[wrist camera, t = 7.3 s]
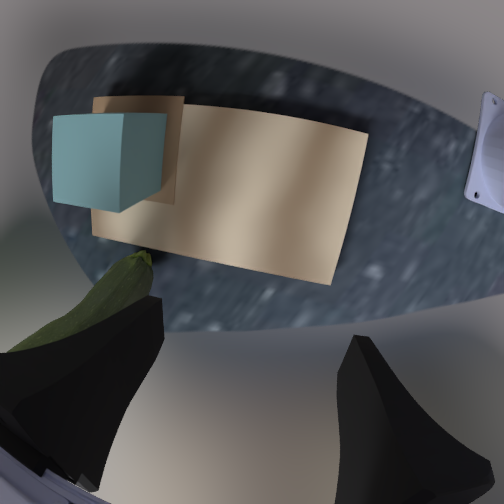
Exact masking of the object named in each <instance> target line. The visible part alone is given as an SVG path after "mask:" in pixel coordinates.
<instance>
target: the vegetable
mask: <svg viewBox="0 0 504 504" xmlns="http://www.w3.org/2000/svg"><path fill="white" fill-rule="evenodd" d="M151 266H152V261H151V255H150V253H146V250H142V251H139V252H138V253H134V254H132V255H130V256H127V257H125V258H123V259H121V260H119V261H118V262H116V263H115V264H114V265H113V266H112V267H111V268H110V269H109V270H108V272H107V273H106V274H105V275H104V276H103V277H102V278H101V279H100V280H99V281H98V282H97V283H96V284H95V286H94V287H93V288H92V289H91V290H90V291H89V293H88V294H87V295H86V297H85V298H84V299H83V300H82V301H81V302H80V303H79V304H78V305H77V306H76V307H75V308H74V309H72V310H71V311H70V312H69V313H67V314H66V315H65V316H62V317H61V318H58V319H56V320H54V321H52V322H50V323H49V324H47V325H45V326H44V327H42V328H41V329H39V330H38V331H37V332H36V333H34V334H32V335H31V336H29V337H28V338H26V339H25V340H23V341H22V342H20V343H19V344H17V345H16V346H14V347H13V348H12V349H10V350H9V351H8V352H14V351H20V350H25V349H30V348H34V347H38V346H41V345H45V344H48V343H51V342H54V341H58V340H60V339H63V338H66V337H68V336H71V335H73V334H76V333H78V332H80V331H82V330H85V329H87V328H89V327H91V326H93V325H94V324H96V323H98V322H100V321H102V320H104V319H106V318H108V317H110V316H112V315H113V314H115V313H117V312H119V311H120V310H122V309H124V308H126V307H127V306H129V305H131V304H133V303H134V302H136V301H138V300H140V299H141V298H143V297H145V296H147V295H149V292H150V290H151V286H152V282H153V270H152V268H151ZM8 352H7V353H8Z"/></svg>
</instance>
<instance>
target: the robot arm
mask: <svg viewBox="0 0 504 504" xmlns="http://www.w3.org/2000/svg"><path fill="white" fill-rule="evenodd" d="M492 99H494V102H495V103H494V104H493V102H492ZM475 192H477V196H476V197H474V194H475ZM464 195H465V197H466V198H467V199H469V200H471V201H474V202H477V203H479V204H482V205H484V206H487V207H489V208H491V209H494V210H496V211H499V212H501V213H503V214H504V100H502V99H501V98H499V97H498V96H496V95H494V94H492V93H491V92H484V93H483V95H482V103H481V110H480V117H479V124H478V130H477V136H476V141H475V147H474V152H473V156H472V161H471V166H470V170H469V174H468V178H467V182H466V186H465V190H464ZM163 341H164V325H163V309H162V299H161V298H157V297H153V296H149V295H147V296H145V297H143V298H141V299H140V300H138V301H136V302H134V303H133V304H131V305H129V306H127V307H126V308H124V309H122V310H120V311H119V312H117V313H115V314H113V315H112V316H110V317H108V318H106V319H104V320H102V321H100V322H98V323H96V324H94V325H93V326H91V327H89V328H87V329H85V330H82V331H80V332H78V333H76V334H73V335H71V336H68V337H66V338H63V339H60V340H58V341H54V342H51V343H48V344H45V345H41V346H38V347H34V348H30V349H25V350H20V351H14V352H8V353H0V504H111V503H108V502H106V501H104V500H102V499H100V498H98V497H96V496H94V495H92V494H90V493H88V492H96V491H98V490H99V486H100V482H101V478H102V475H103V471H104V467H105V464H106V461H107V457H108V455H109V452H110V449H111V446H112V443H113V441H114V438H115V435H116V433H117V430H118V428H119V425H120V423H121V421H122V418H123V416H124V414H125V411H126V409H127V407H128V405H129V404H130V402H131V400H132V398H133V397H134V395H135V393H136V392H137V390H138V388H139V387H140V385H141V383H142V382H143V380H144V378H145V377H146V375H147V373H148V372H149V370H150V368H151V367H152V365H153V363H154V362H155V360H156V358H157V355H158V353H159V351H160V348H161V346H162V344H163ZM337 408H338V421H339V435H340V464H339V476H338V484H337V492H336V498H335V504H469V503H471V502H473V501H474V500H475V499H477V498H479V497H480V496H482V495H483V494H485V493H486V492H487V491H489V490H490V489H491V488H492V486H493V485H494V483H495V479H494V475H493V471H492V467H491V464H490V461H489V460H487V459H485V458H484V457H482V456H480V455H478V454H477V453H475V452H474V451H472V450H470V449H469V448H467V447H466V446H464V445H463V444H462V443H460V442H459V441H458V440H456V439H455V438H454V437H452V436H451V435H450V434H449V433H447V432H446V431H445V430H444V429H443V428H442V427H441V426H439V425H438V424H437V423H436V422H435V421H434V420H433V419H432V418H431V417H430V416H429V415H428V414H427V413H426V412H425V411H424V410H423V409H422V408H421V406H420V405H418V403H417V402H416V401H415V400H414V399H413V397H412V396H411V395H410V394H409V392H408V391H407V390H406V389H405V387H404V386H403V385H402V383H401V382H400V381H399V380H398V378H397V377H396V375H395V374H394V372H393V371H392V370H391V369H390V367H389V365H388V364H387V362H386V361H385V360H384V358H383V357H382V355H381V353H380V352H379V350H378V349H377V348H376V346H375V345H374V343H373V342H372V340H371V339H370V338H369V337H367V336H359V335H354V336H353V338H352V340H351V343H350V345H349V348H348V350H347V352H346V355H345V357H344V359H343V362H342V364H341V366H340V368H339V370H338V374H337ZM68 481H69V482H68ZM70 482H71V483H70ZM72 483H73V484H74V485H73V484H72ZM75 485H77V486H79V487H81V488H82V489H84V490H86V491H88V492H86V491H84V490H82V489H81V488H79V487H77V486H75Z"/></svg>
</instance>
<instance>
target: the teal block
mask: <svg viewBox="0 0 504 504" xmlns="http://www.w3.org/2000/svg"><path fill="white" fill-rule="evenodd" d="M166 121H167V114H162V113H89V114H74V115H62V116H53V135H52V182H53V201H54V202H59V203H64V204H70V205H76V206H81V207H87V208H93V209H98V210H104V211H109V212H115V213H121V212H123V211H124V210H126V209H128V208H130V207H131V206H133V205H135V204H137V203H139V202H140V201H142V200H144V199H146V198H148V197H149V196H151V195H153V194H155V193H157V192H159V191H161V177H162V163H163V151H164V140H165V130H166Z"/></svg>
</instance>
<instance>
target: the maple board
mask: <svg viewBox="0 0 504 504" xmlns="http://www.w3.org/2000/svg"><path fill="white" fill-rule="evenodd" d="M184 98H185V96H109V97H94V102H93V112H92V113H162V114H167V121H166V130H165V140H164V151H163V163H162V177H161V191H159V192H157V193H155V194H153V195H151V196H149V197H148V198H146V199H144V200H142V201H140V202H139V203H137V204H135V205H133V206H131V207H130V208H128V209H126V210H124V211H123V212H121V213H115V212H109V211H104V210H98V209H93V208H91V216H92V233H93V235H94V236H99V237H103V238H107V239H112V240H116V241H121V242H125V243H129V244H134V245H138V246H143V247H147V248H152V249H156V250H161V251H166V252H170V253H175V254H179V255H184V256H189V257H193V258H198V259H203V260H208V261H212V262H217V263H222V264H227V265H231V266H236V267H241V268H246V269H251V270H256V271H261V272H266V273H270V274H275V275H280V276H285V277H290V278H296V279H301V280H306V281H311V282H316V283H321V284H326V285H331V281H332V278H333V275H334V271H335V268H336V265H337V261H338V258H339V254H340V251H341V247H342V244H343V240H344V237H345V233H346V229H347V226H348V222H349V218H350V214H351V210H352V206H353V202H354V198H355V194H356V190H357V186H358V181H359V177H360V172H361V168H362V163H363V159H364V154H365V149H366V144H367V139H368V134H366V133H362V132H358V131H355V130H351V129H347V128H342V127H338V126H334V125H329V124H325V123H320V122H316V121H311V120H306V119H300V118H295V117H289V116H284V115H278V114H271V113H265V112H258V111H251V110H243V109H234V108H225V107H214V106H202V105H188V104H184Z"/></svg>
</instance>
